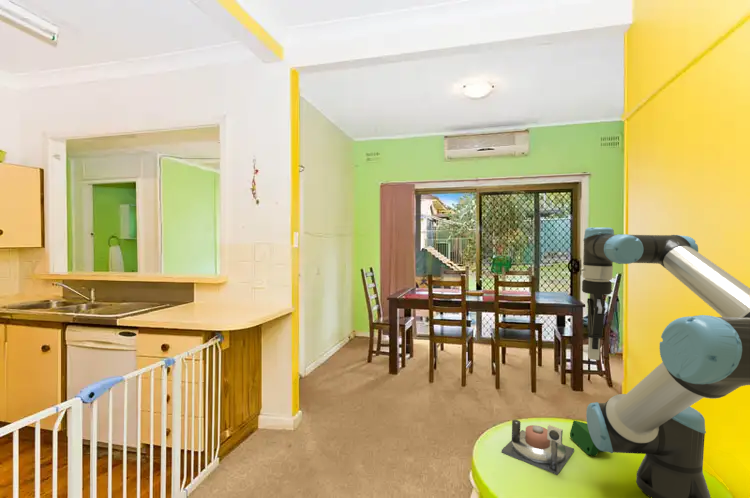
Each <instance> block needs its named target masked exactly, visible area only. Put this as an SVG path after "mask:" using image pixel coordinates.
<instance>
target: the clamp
mask: <svg viewBox="0 0 750 498" xmlns="http://www.w3.org/2000/svg"><path fill="white" fill-rule="evenodd" d="M569 436H570V439H571V440H572V441H573V442H574V443H576V445H577V446H578V447H579V448H580V449H581V450H582V451H584V452H585V453H586V455H590V456H592V457H597V455H598V453H604V451H601V450H599V449H598V448H597V447H596V446H595V444H594V443H593V441H592V439H591V436H590V433H589V430H588V425H587V422H583V421H577V420H573V422H572V425H571V428H570V432H569Z"/></svg>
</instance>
